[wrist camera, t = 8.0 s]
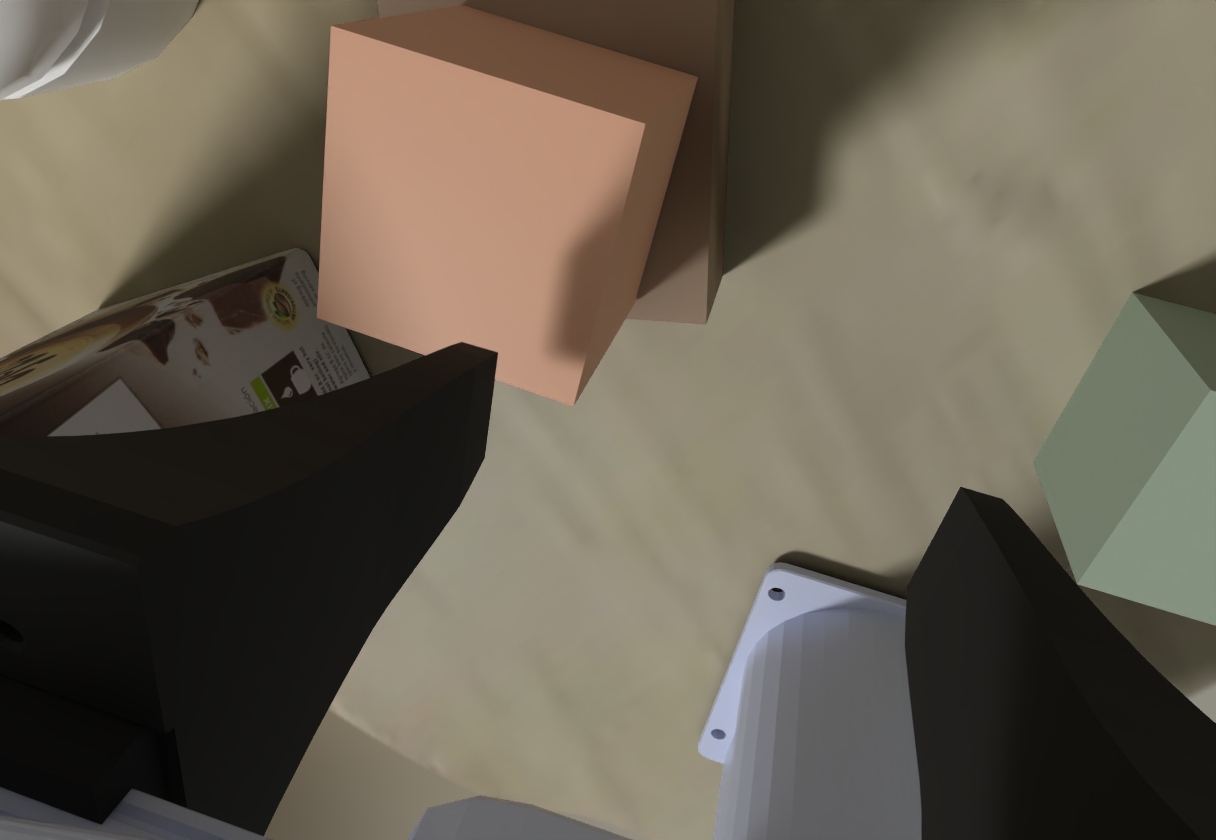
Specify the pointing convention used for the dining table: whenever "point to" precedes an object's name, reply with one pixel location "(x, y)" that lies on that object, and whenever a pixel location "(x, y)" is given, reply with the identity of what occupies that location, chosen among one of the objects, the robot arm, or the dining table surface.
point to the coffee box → (182, 356)
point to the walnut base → (696, 193)
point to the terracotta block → (492, 189)
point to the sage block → (1141, 462)
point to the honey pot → (81, 40)
